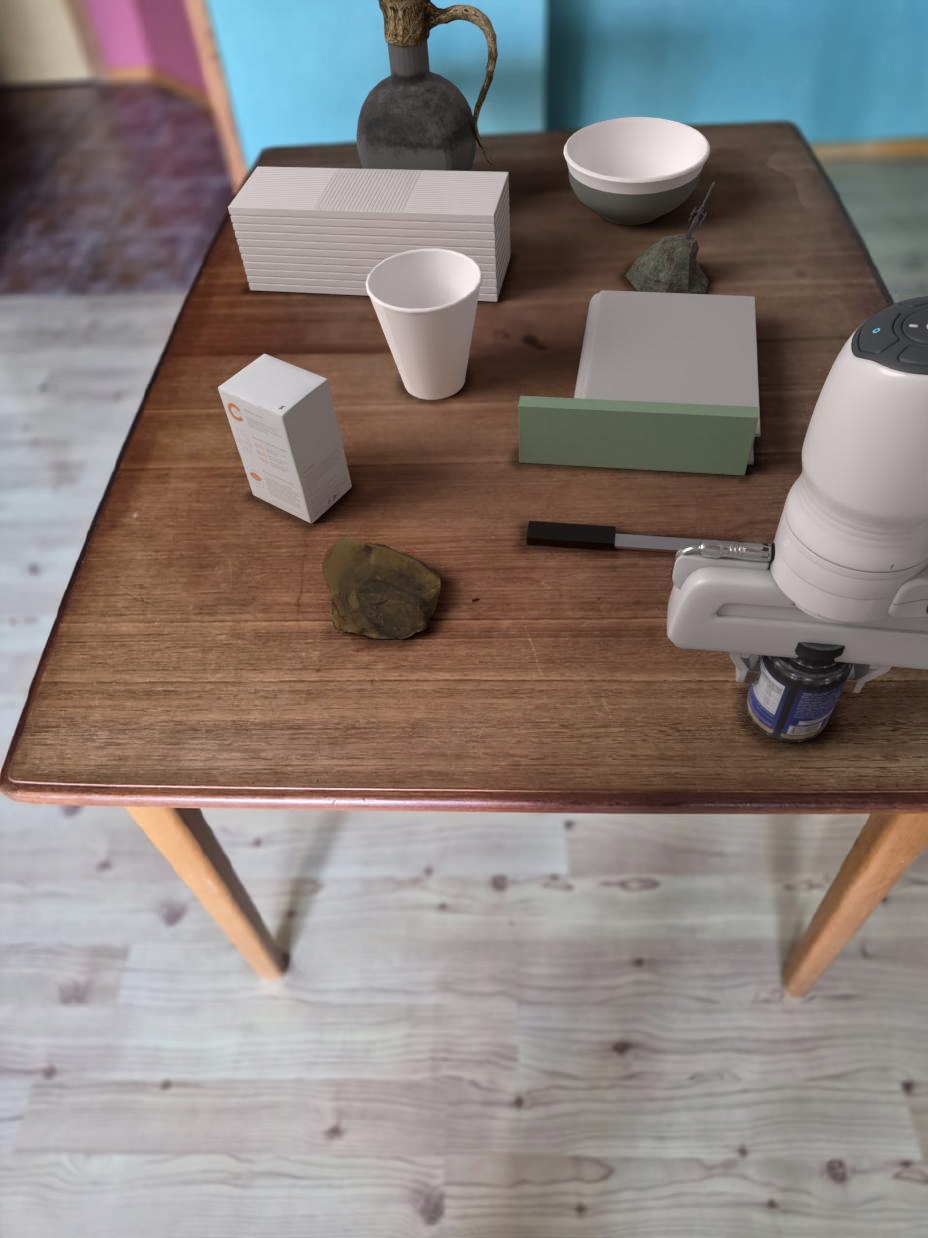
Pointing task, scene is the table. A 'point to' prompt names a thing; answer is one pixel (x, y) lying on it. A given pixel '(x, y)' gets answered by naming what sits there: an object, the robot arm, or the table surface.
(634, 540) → the table knife
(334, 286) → the white ribbed block
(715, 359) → the white rectangular block
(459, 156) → the pitcher
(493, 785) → the table surface
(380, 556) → the decorative stone
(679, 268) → the sword in stone
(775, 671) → the pill bottle
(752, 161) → the table surface
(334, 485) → the small box
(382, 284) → the cup
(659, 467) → the green board
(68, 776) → the table surface
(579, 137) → the bowl
